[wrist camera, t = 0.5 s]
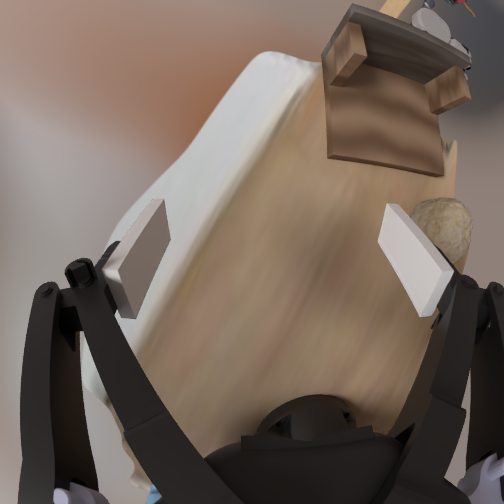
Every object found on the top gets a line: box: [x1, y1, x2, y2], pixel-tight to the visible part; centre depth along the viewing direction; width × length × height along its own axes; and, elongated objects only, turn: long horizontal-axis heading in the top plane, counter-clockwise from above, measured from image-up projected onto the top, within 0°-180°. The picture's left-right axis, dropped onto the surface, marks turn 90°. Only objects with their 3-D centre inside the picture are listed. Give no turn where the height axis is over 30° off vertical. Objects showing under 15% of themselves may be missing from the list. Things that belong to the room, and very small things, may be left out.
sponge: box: [410, 198, 472, 263], centre depth 31 cm, size 9×10×10 cm
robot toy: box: [412, 3, 471, 80], centre depth 29 cm, size 12×4×15 cm
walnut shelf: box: [321, 4, 471, 177], centre depth 26 cm, size 16×18×12 cm
